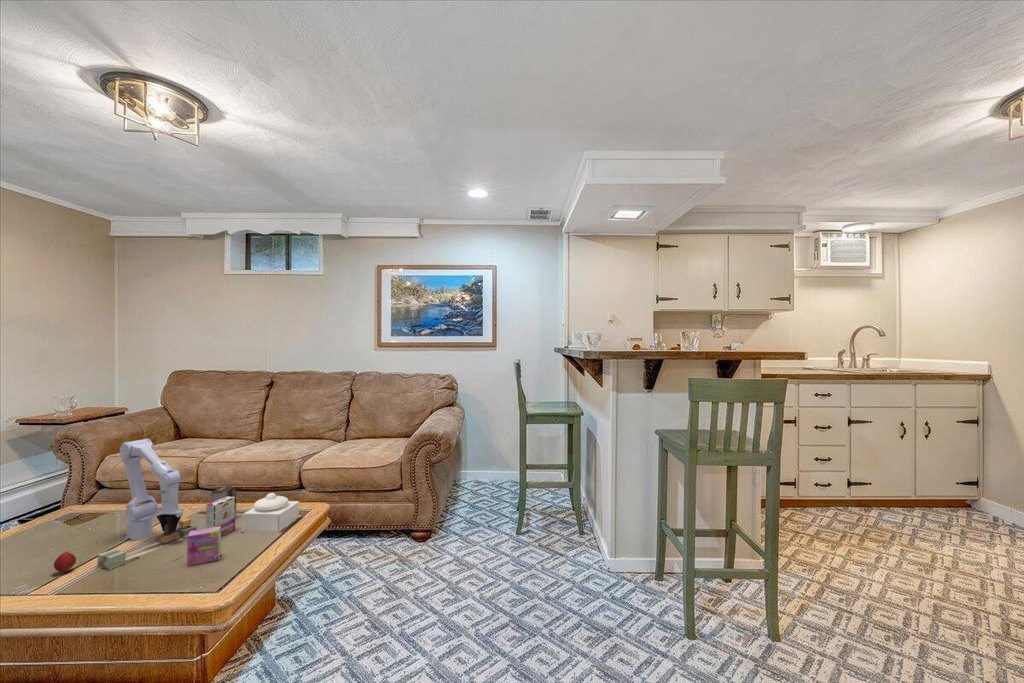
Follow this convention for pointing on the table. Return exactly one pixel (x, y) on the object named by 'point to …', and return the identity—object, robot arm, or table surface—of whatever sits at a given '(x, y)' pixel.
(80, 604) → the table surface
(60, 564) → the onion
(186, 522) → the button
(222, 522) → the candy bar box
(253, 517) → the butter dish
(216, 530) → the box
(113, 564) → the rail stand
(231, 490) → the coffee box
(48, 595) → the table surface
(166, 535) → the carriage
